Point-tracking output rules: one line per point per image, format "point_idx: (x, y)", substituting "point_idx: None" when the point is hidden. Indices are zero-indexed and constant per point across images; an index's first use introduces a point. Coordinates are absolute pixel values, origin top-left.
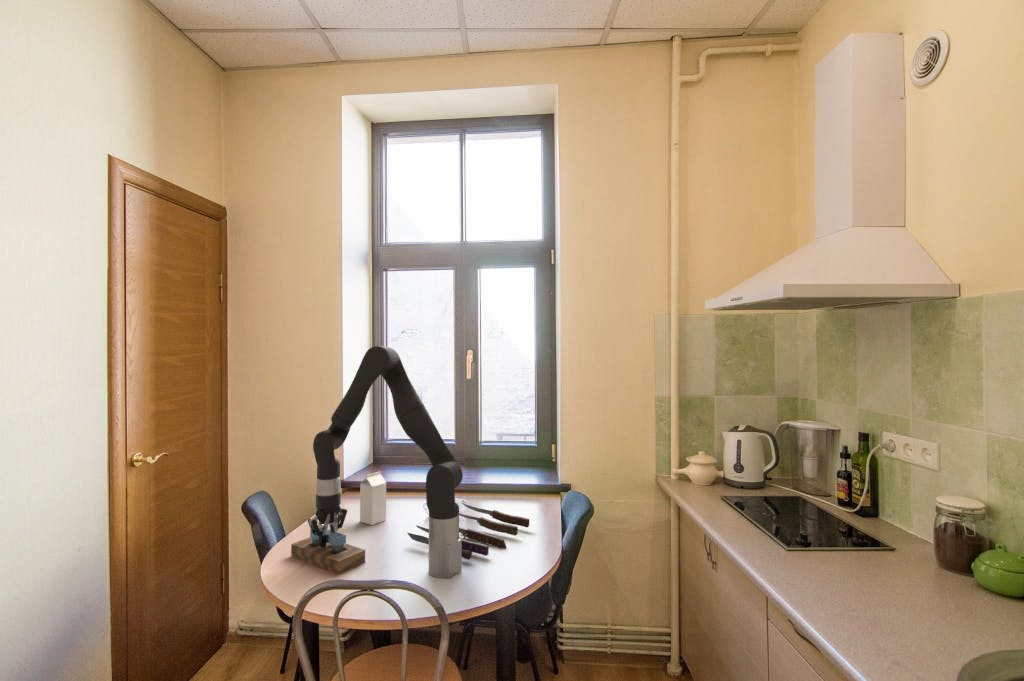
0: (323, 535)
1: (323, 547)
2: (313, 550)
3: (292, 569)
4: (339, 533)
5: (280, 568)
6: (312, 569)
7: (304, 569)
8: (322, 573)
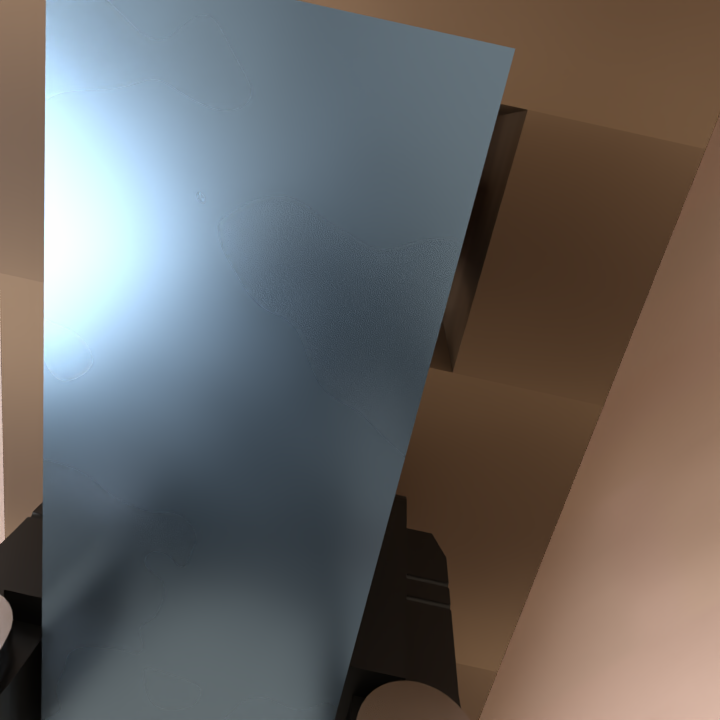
0: (445, 717)
1: (400, 506)
2: (482, 602)
3: (674, 585)
4: (60, 374)
5: (678, 698)
6: (621, 381)
7: (644, 469)
8: (710, 162)
